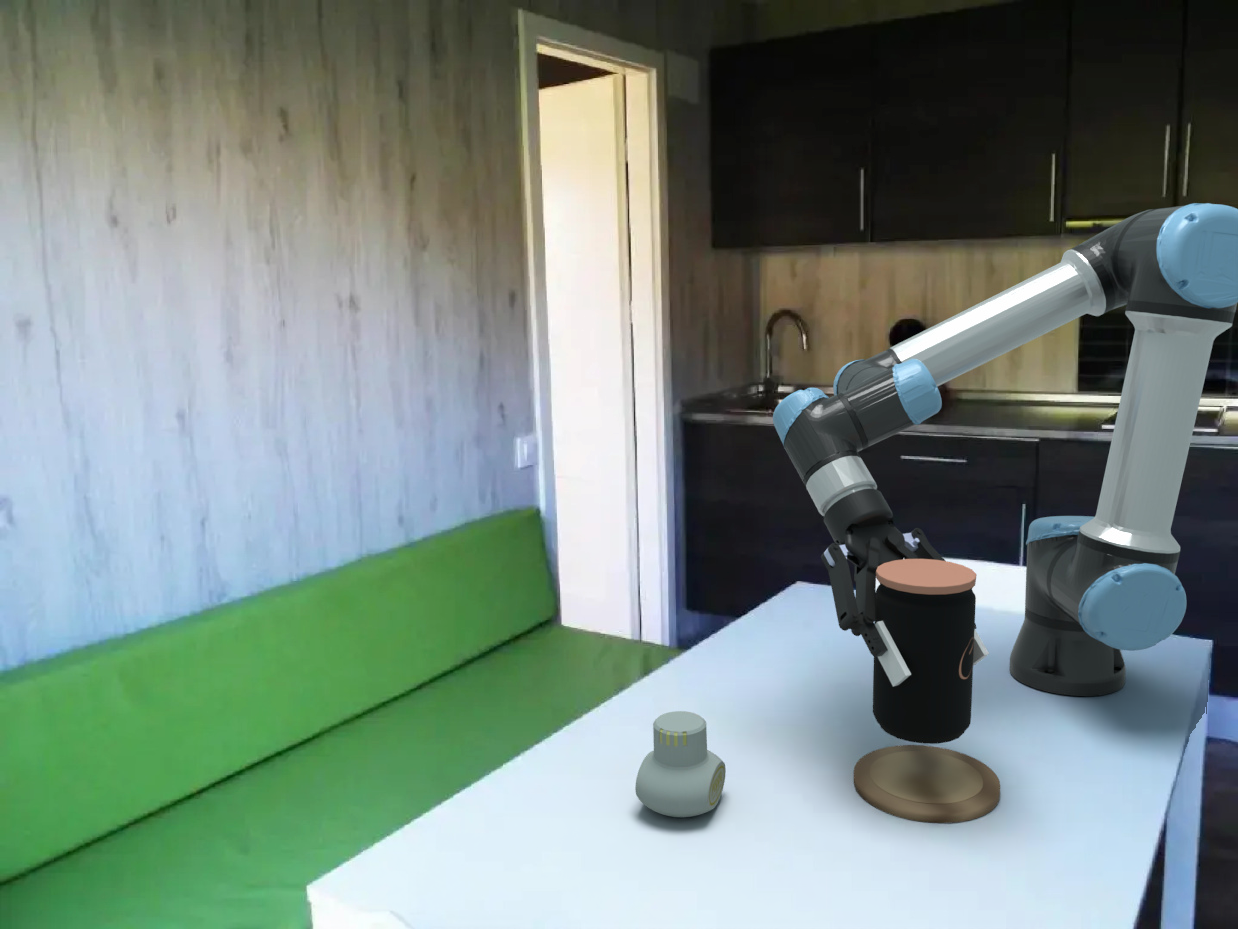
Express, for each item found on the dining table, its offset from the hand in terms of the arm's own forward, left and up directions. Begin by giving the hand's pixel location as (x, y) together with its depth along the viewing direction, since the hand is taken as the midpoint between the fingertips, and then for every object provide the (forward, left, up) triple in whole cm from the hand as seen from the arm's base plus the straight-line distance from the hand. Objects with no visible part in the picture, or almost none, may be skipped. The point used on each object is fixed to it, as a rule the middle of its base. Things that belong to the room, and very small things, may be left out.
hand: (941, 670), depth 115 cm
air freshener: (+29, -2, -15) cm, 33 cm away
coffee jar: (+1, -3, -8) cm, 8 cm away
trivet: (+1, -3, -15) cm, 15 cm away
